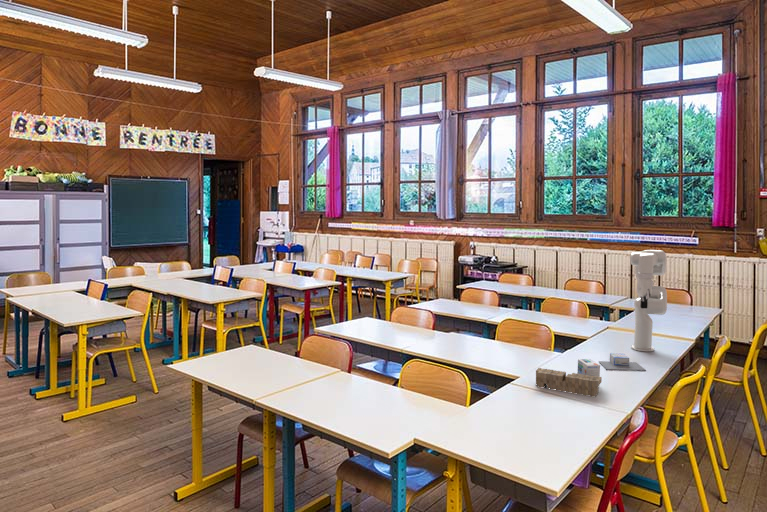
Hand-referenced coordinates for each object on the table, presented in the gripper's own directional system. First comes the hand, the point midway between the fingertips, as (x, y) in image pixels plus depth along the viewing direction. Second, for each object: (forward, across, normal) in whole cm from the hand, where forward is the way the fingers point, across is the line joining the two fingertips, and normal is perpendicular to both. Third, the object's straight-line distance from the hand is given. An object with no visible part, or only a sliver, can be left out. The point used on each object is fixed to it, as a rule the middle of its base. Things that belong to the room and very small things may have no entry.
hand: (643, 308), depth 303 cm
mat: (+29, +18, -17) cm, 38 cm away
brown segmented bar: (+30, +58, -56) cm, 86 cm away
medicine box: (+26, +10, -17) cm, 33 cm away
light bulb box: (+29, +48, -43) cm, 71 cm away
